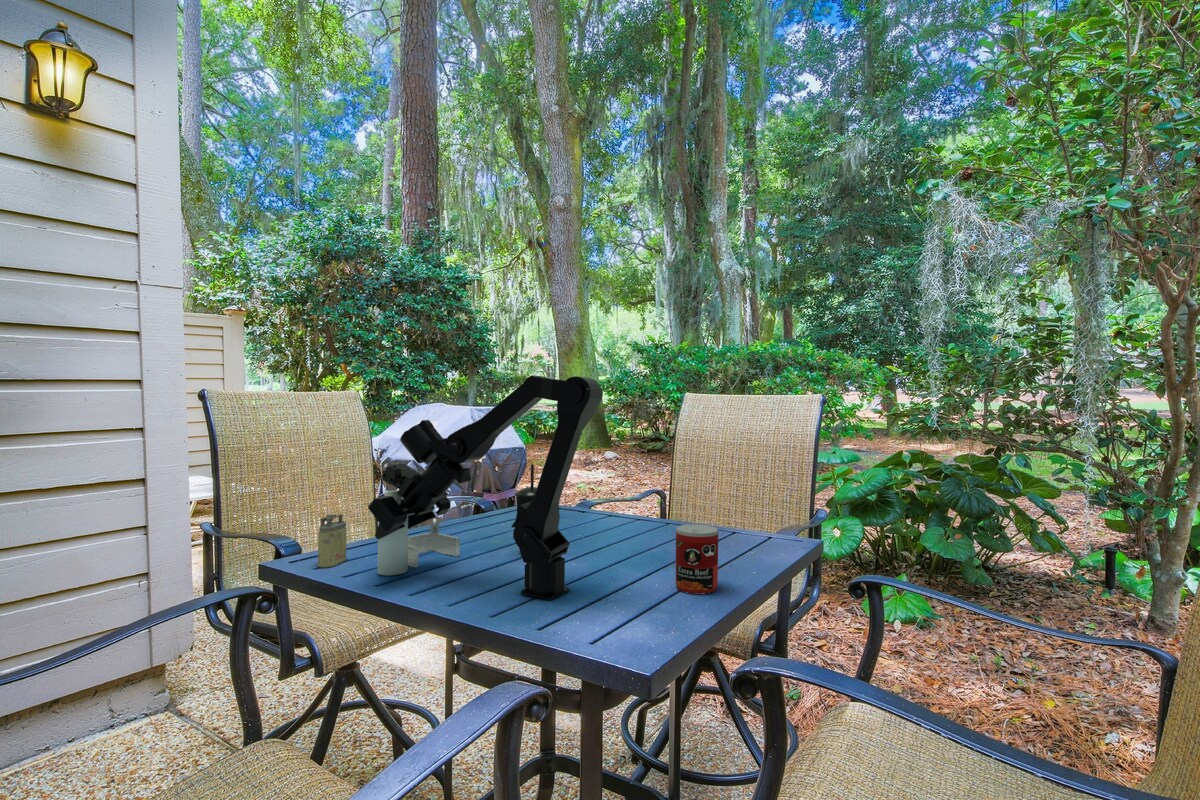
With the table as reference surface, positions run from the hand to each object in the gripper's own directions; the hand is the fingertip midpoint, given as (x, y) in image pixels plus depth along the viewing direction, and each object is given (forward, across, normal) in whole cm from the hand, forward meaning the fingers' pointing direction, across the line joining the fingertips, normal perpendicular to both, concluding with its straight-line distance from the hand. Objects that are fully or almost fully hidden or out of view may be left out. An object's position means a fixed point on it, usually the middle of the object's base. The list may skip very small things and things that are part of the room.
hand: (387, 534), depth 115 cm
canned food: (-36, -13, +47) cm, 61 cm away
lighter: (+16, -1, -5) cm, 16 cm away
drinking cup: (-9, -23, +20) cm, 32 cm away
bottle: (+4, 0, +6) cm, 7 cm away
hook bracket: (+5, -12, +5) cm, 14 cm away
